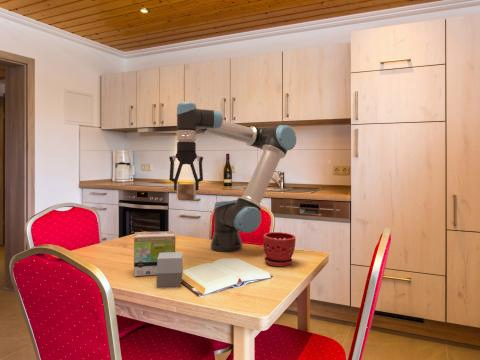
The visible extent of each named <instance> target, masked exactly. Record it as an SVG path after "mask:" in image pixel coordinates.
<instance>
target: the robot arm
mask: <svg viewBox="0 0 480 360" xmlns="http://www.w3.org/2000/svg"><path fill="white" fill-rule="evenodd" d="M197 132H200V133H205V134H210V135H214V136H217V137H221V138H225V139H230V140H234V141H238V142H242V143H245V144H246V145H247V146H249V147H253V148H257V149H261V150H262V151H263V152H262V155H261V157H260V158H259V161H258V162H257V164H256V167H255V169H254V171H253V173H252V176H251V178H250V180H249V182H248V184H247V187H246V189H245V191H244V193H243V194H242V196H239V197H238V198H237V199H236V200H223V201H216V202H214V208H213V210H214V213H213V214H214V220H213V221H214V224H213V225H214V232H213V236H212V238H211V242H210V249H211V250H213V251H214V252H220V253H222V252H223V253H230V252H238V251H240V250H242V249H243V242H242V239H241V235H240V233H248V234H249V233H252V232H254V231H256V230H257V229H258V228H260V225H261V223H262V213H261V210H262V206H261V203H262V200H263V198H264V197H265V196H264V195H265V194H266V191H267V190H268V189H267V188H268V187H269V185H270V183H271V180H272V178H273V176H274V174H275V172H276V169H277V167H278V165H279V162H280V161H281V159H283V158H285V156H286V155H287V153H288V151H291V150H292V149H294V148H295V146H296V144H297V135H296V131H295V130H294V129H293V127H291V126H290V125H285V124H284V125H283V124H279V125H275V126H265V127H263V126H262V127H257V126H254V125H253V126H252V125H251V126H249V127H248V126H245V125H241V124H238V123H234V122H230V121H226V120H224V118H223V114H222V112H221V111H218V110H215V109H202V108H201V109H200V108H197V105H196V103H194V102H191V101H190V102H189V101H183V102H182V101H181V102H179V103H177V106H176V141H177V142H176V153H175V155H171V156H169V162H170V165H169V179H168V180H169V181H170V182H173V190H174V191H176V200H178V185H179V184H180V182H178V181H179V177H180V175H181V171H182V170H183V165H190V169H191V172H192V174H193V175H192V176H193V179H194V182H193V184H194V200H196V199H197V191H199V187H200V186H199V183H200V182H202V181H203V180H204V175H203V174H204V171H203V160H204V156H199V155H197V152H196V151H197V150H196V145H197V143H196V140H197V136H196V135H197ZM176 159H177V161H178V166H177V170H176V172H175V162H176ZM196 159H197V162H198V171H199V174H197V172H196V168H195V165H194V162H195V161H196ZM174 172H175V176H174ZM198 175H199V177H198ZM239 232H240V233H239Z"/></svg>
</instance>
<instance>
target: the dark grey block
mask: <svg viewBox="0 0 480 360" xmlns="http://www.w3.org/2000/svg"><path fill="white" fill-rule="evenodd" d="M183 267H184V266H182V273H159V274H157V275H156V288H157V289H160V288H162V287H163V289H164V287H165V288H181V287H182V284H181V282H182V283H183V280H182V277H183V274H184V273H183V271H184V270H183V269H184V268H183ZM183 278H184V277H183Z"/></svg>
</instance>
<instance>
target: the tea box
mask: <svg viewBox="0 0 480 360" xmlns="http://www.w3.org/2000/svg"><path fill="white" fill-rule="evenodd" d="M133 233H134V234H133V235H134V236H133V238H134V239H133V271H134V272H133V274H134V277H139V276H141V277H142V276H143V277H144V276H157V258H158V256H159V253H166V252H176V239H177V237H176V235H175V233H174V231H171V230H170V231H169V230H168V231H142V232H140V231H139V232H137V231H136V232H133Z"/></svg>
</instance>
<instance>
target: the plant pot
mask: <svg viewBox="0 0 480 360" xmlns="http://www.w3.org/2000/svg"><path fill="white" fill-rule="evenodd" d="M295 247H296V236H295V235H294V234H292V233H288V232H277V231H275V232H273V231H271V232H266V233H264V234H263V251H264V254H265V256H264V258H263V260H264V262H265V263H266V264H267V265H270V266H273V267H286V266H290V265H291V264H292V263H293V258H292V257H293V255H294V253H295V251H294V250H295Z"/></svg>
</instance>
